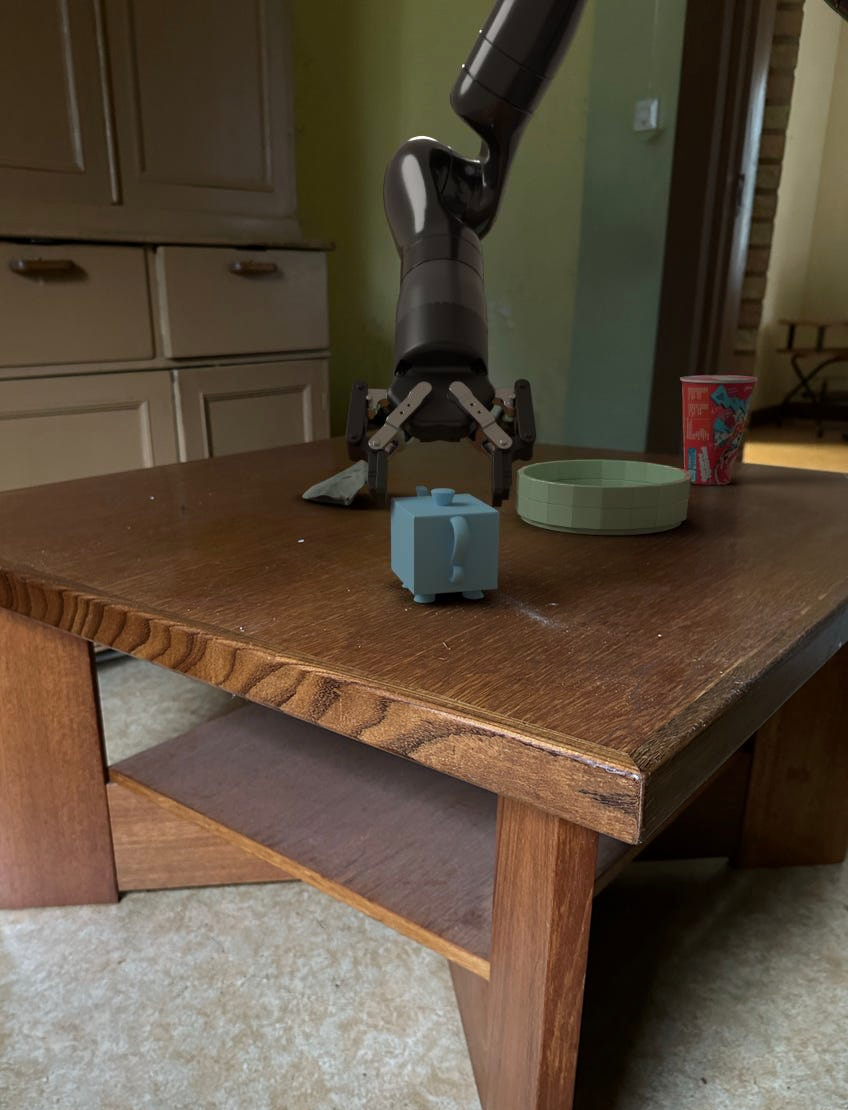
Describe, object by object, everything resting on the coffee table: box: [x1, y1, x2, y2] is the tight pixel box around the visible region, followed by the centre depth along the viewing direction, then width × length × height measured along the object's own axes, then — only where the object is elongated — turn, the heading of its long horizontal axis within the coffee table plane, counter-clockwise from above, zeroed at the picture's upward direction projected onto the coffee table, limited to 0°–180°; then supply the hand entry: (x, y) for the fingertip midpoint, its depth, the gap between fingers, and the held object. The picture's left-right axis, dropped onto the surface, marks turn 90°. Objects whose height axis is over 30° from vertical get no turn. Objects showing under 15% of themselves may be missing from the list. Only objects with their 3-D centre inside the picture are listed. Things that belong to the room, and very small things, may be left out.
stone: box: [302, 460, 368, 507], centre depth 100 cm, size 11×4×10 cm
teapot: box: [390, 485, 501, 604], centre depth 67 cm, size 12×6×8 cm, turn 11°
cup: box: [679, 374, 759, 486], centre depth 107 cm, size 9×8×12 cm
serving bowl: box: [515, 459, 692, 536], centre depth 90 cm, size 16×16×4 cm
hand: (439, 501), depth 67 cm, fingers open, 8 cm apart
